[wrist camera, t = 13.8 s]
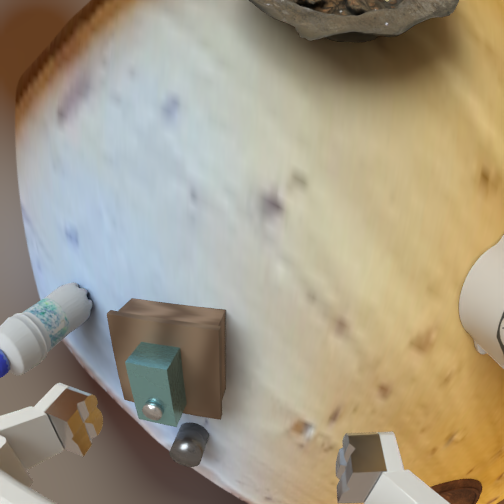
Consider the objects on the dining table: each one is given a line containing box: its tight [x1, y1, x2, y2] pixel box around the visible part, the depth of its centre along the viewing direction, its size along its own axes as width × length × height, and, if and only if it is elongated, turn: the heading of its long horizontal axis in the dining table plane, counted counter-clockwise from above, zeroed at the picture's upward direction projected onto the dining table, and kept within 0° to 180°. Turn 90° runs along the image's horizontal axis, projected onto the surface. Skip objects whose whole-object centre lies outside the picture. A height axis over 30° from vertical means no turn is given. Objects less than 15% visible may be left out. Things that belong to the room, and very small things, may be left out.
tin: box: [170, 423, 209, 467], centre depth 45 cm, size 5×5×6 cm
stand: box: [107, 298, 226, 420], centre depth 40 cm, size 14×14×6 cm
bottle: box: [0, 283, 92, 378], centre depth 34 cm, size 7×7×20 cm
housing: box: [125, 342, 187, 427], centre depth 35 cm, size 5×9×5 cm, turn 179°
